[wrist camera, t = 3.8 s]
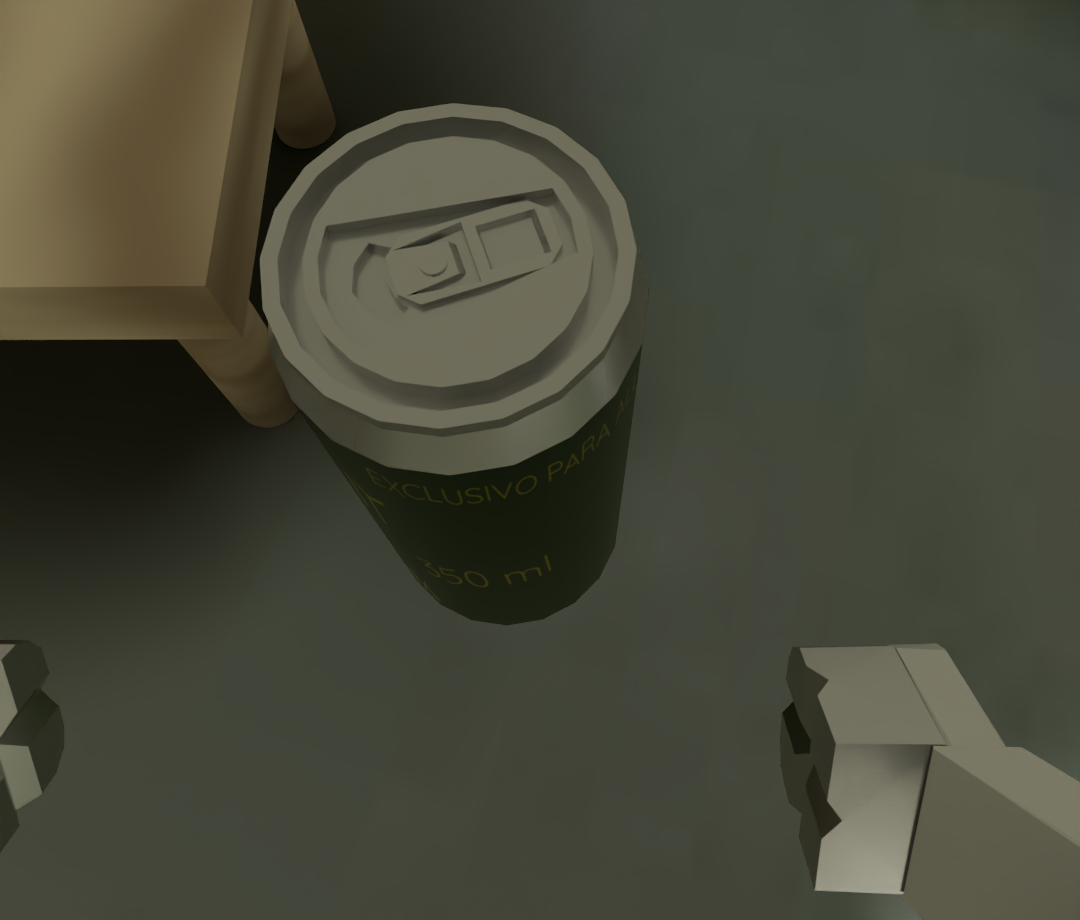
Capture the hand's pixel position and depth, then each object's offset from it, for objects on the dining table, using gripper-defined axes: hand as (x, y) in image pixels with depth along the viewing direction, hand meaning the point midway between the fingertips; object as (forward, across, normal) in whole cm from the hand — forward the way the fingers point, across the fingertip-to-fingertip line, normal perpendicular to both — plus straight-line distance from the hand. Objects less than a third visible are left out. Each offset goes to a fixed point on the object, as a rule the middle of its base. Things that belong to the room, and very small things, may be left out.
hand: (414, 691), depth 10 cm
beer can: (+12, 0, +5) cm, 13 cm away
